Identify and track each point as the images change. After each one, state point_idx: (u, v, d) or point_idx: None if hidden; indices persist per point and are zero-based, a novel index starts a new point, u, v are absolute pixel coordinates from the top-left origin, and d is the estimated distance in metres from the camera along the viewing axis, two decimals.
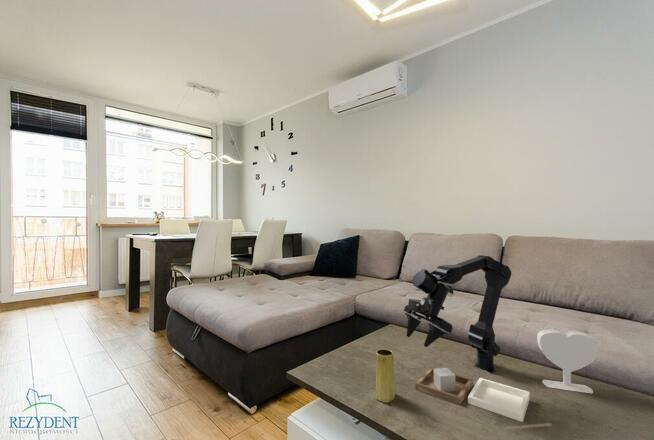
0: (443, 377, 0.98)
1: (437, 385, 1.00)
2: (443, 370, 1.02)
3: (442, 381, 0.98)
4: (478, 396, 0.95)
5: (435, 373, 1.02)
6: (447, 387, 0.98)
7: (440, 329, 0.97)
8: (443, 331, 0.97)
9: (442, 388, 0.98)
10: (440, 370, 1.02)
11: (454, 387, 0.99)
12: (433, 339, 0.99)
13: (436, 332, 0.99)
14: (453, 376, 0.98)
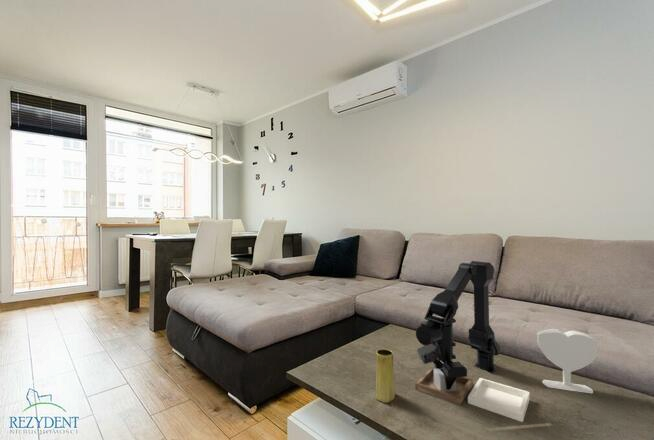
0: (443, 377, 0.98)
1: (437, 385, 1.00)
2: None
3: (442, 381, 0.98)
4: (478, 396, 0.95)
5: (435, 373, 1.02)
6: None
7: None
8: None
9: (442, 388, 0.98)
10: (440, 370, 1.02)
11: (454, 387, 0.99)
12: (452, 381, 0.97)
13: None
14: None
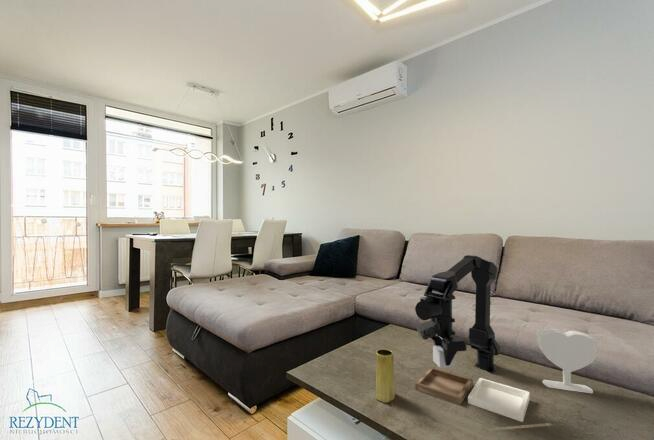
0: (443, 353, 0.98)
1: (436, 362, 1.00)
2: None
3: (441, 357, 0.98)
4: (478, 396, 0.95)
5: (434, 350, 1.02)
6: None
7: None
8: None
9: (441, 364, 0.98)
10: (439, 347, 1.02)
11: (453, 363, 0.98)
12: (451, 356, 0.97)
13: None
14: None
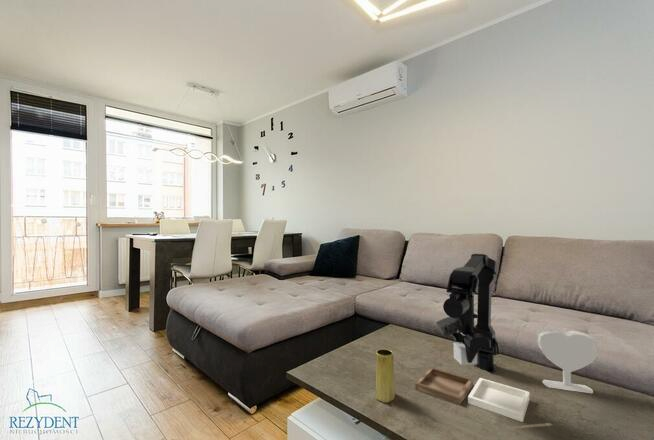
0: (464, 350, 0.95)
1: (457, 358, 0.97)
2: (463, 344, 0.98)
3: (463, 354, 0.95)
4: (478, 396, 0.95)
5: (455, 346, 0.98)
6: None
7: None
8: None
9: (463, 362, 0.95)
10: (460, 343, 0.99)
11: (475, 360, 0.95)
12: (474, 353, 0.94)
13: None
14: None
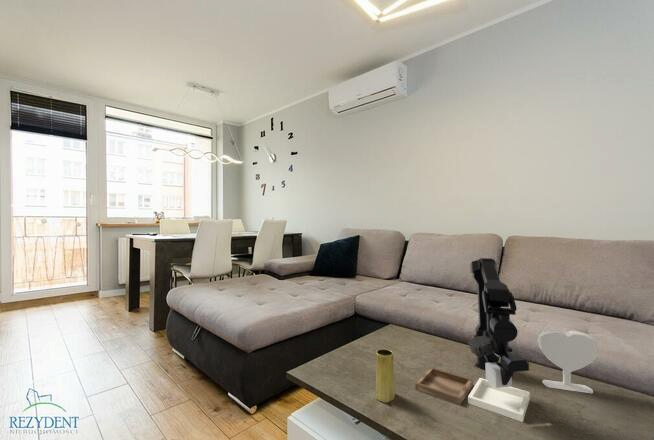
0: (499, 372, 0.90)
1: (491, 380, 0.92)
2: (496, 364, 0.94)
3: (497, 376, 0.90)
4: (478, 396, 0.95)
5: (488, 367, 0.94)
6: None
7: None
8: None
9: (497, 384, 0.90)
10: (493, 364, 0.94)
11: (510, 382, 0.91)
12: (509, 375, 0.89)
13: None
14: None
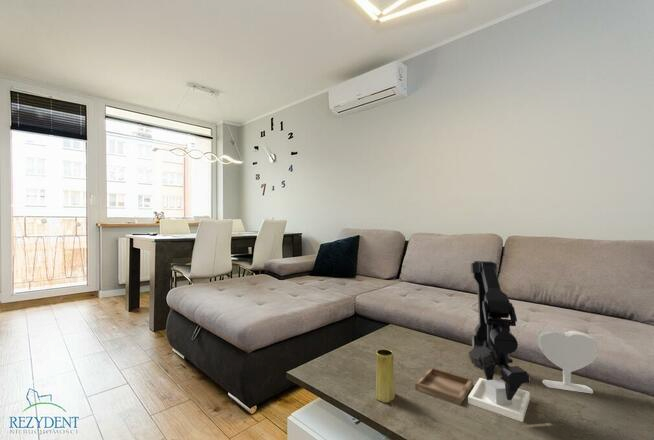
0: (499, 390, 0.90)
1: (491, 398, 0.92)
2: (497, 382, 0.94)
3: (498, 394, 0.90)
4: (478, 396, 0.95)
5: (488, 385, 0.94)
6: (503, 401, 0.90)
7: None
8: None
9: (497, 402, 0.90)
10: (493, 382, 0.94)
11: (511, 401, 0.91)
12: (514, 390, 0.87)
13: None
14: None
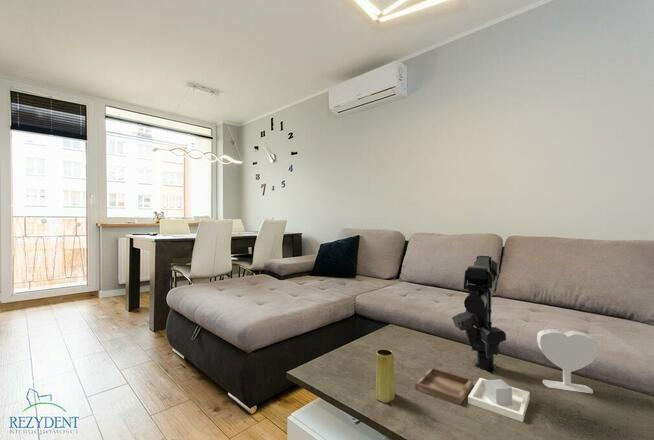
0: (499, 390, 0.90)
1: (491, 398, 0.92)
2: (497, 382, 0.94)
3: (498, 394, 0.90)
4: (478, 396, 0.95)
5: (488, 385, 0.94)
6: (503, 401, 0.90)
7: None
8: None
9: (497, 402, 0.90)
10: (493, 382, 0.94)
11: (511, 401, 0.91)
12: (493, 349, 0.96)
13: (492, 341, 0.96)
14: (510, 389, 0.91)
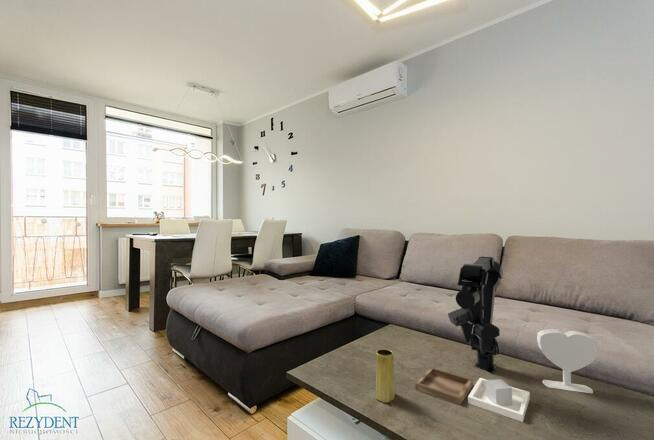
0: (499, 390, 0.90)
1: (491, 398, 0.92)
2: (497, 382, 0.94)
3: (498, 394, 0.90)
4: (478, 396, 0.95)
5: (488, 385, 0.94)
6: (503, 401, 0.90)
7: None
8: None
9: (497, 402, 0.90)
10: (493, 382, 0.94)
11: (511, 401, 0.91)
12: (487, 345, 0.99)
13: (486, 337, 0.98)
14: (510, 389, 0.91)
